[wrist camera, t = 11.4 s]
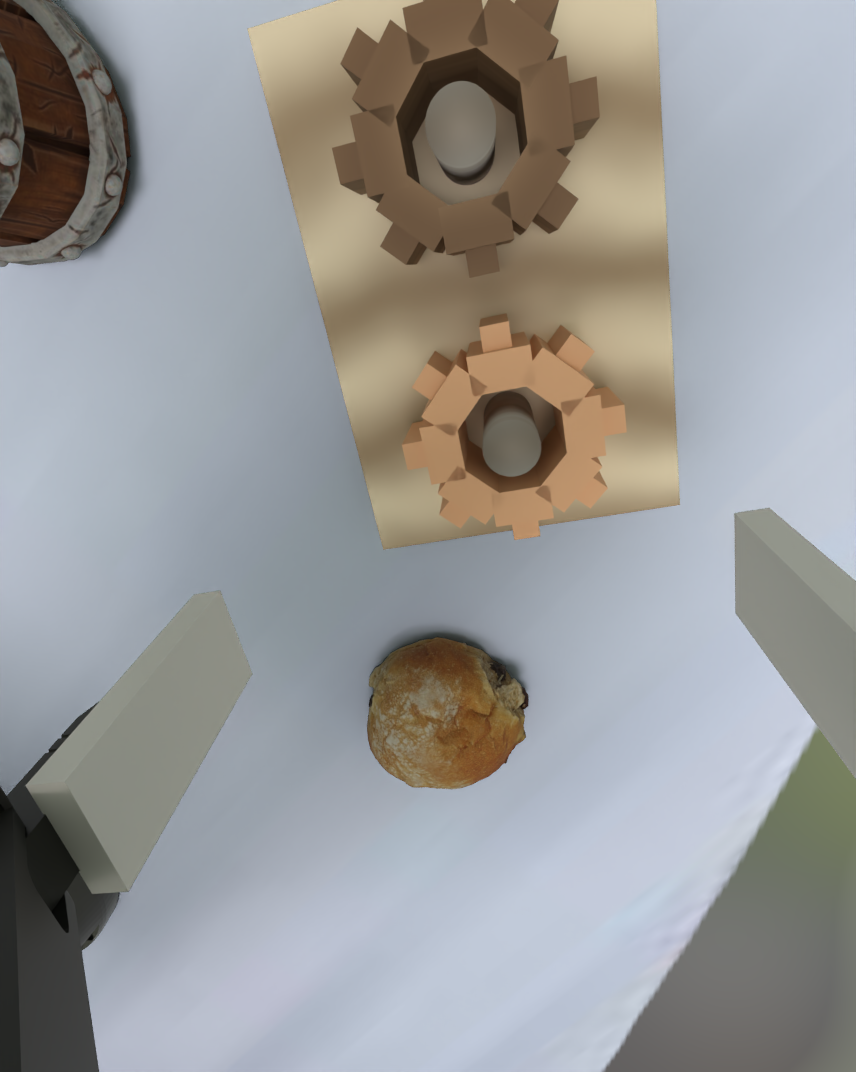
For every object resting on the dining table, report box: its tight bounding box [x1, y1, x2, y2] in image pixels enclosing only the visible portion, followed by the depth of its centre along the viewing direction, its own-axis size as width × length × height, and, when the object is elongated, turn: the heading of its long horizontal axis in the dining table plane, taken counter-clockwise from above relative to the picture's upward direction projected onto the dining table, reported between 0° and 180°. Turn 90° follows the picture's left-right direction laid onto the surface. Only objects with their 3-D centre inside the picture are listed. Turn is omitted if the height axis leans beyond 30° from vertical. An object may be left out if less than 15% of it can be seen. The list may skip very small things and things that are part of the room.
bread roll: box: [367, 637, 528, 789], centre depth 39 cm, size 10×10×8 cm
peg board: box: [248, 0, 680, 550], centre depth 26 cm, size 24×16×8 cm, turn 12°
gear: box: [402, 314, 627, 540], centre depth 28 cm, size 10×10×5 cm
